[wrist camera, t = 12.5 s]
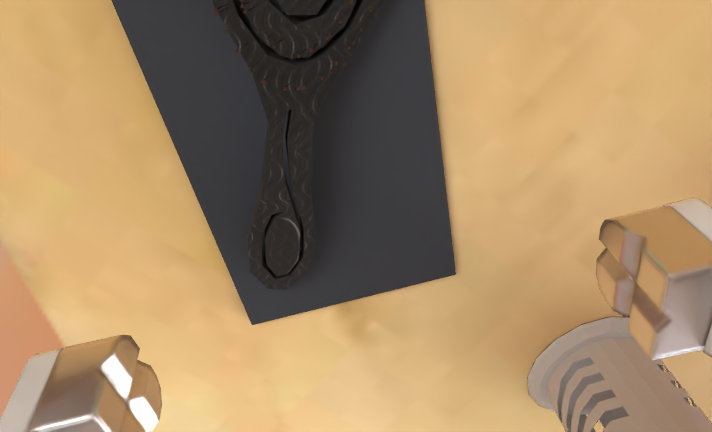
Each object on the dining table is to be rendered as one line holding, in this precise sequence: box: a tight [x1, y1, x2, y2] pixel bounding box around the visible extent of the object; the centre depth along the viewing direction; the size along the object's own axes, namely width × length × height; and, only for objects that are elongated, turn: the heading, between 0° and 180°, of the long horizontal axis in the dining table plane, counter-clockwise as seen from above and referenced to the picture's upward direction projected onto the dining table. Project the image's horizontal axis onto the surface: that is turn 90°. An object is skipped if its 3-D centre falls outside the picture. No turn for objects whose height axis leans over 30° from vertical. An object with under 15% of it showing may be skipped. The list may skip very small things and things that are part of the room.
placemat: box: [112, 0, 456, 325], centre depth 23 cm, size 28×12×1 cm, turn 11°
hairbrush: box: [212, 0, 386, 290], centre depth 21 cm, size 8×4×25 cm
